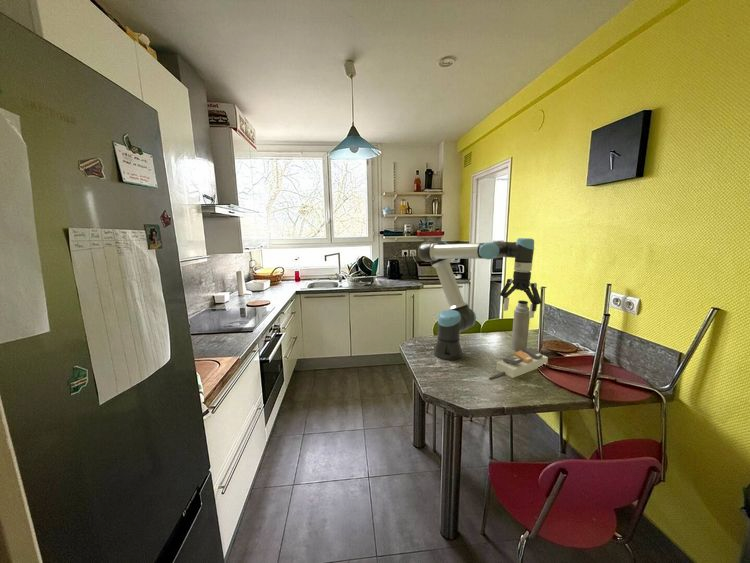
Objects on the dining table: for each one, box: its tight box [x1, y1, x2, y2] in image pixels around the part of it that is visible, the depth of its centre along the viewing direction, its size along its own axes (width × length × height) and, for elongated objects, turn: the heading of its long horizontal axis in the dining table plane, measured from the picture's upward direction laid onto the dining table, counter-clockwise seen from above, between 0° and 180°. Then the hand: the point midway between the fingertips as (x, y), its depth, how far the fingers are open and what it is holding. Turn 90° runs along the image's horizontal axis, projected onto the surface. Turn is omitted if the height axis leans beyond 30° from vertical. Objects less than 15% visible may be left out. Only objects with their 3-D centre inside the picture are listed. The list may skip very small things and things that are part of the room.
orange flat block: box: [513, 351, 533, 363], centre depth 144 cm, size 7×5×2 cm
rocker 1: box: [502, 356, 523, 364], centre depth 140 cm, size 7×5×2 cm
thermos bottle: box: [510, 300, 531, 353], centre depth 165 cm, size 8×8×28 cm
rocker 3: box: [524, 347, 544, 359], centre depth 148 cm, size 7×5×2 cm
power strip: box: [488, 352, 549, 380], centre depth 142 cm, size 9×38×5 cm, turn 120°
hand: (517, 313), depth 144 cm, fingers open, 13 cm apart
